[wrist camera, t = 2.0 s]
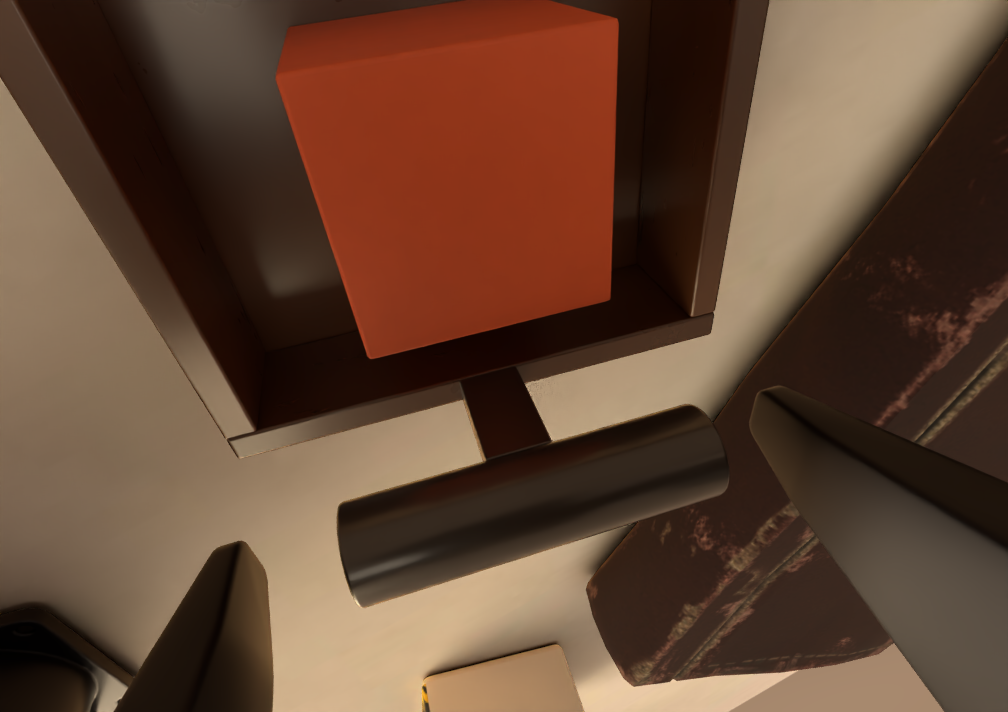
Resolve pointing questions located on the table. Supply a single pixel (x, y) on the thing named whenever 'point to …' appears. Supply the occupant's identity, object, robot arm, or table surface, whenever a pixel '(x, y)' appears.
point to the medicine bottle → (506, 685)
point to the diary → (849, 388)
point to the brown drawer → (319, 287)
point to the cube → (459, 161)
